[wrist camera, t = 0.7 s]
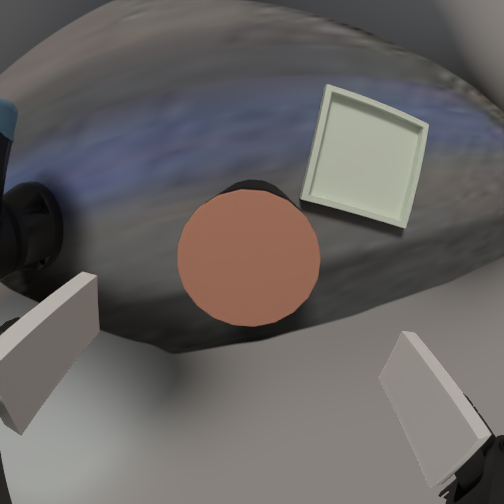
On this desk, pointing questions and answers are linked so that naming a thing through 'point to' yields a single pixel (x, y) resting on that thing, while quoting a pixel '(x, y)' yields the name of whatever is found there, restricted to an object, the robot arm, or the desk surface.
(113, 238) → the desk surface
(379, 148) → the sage tray
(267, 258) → the coffee jar
